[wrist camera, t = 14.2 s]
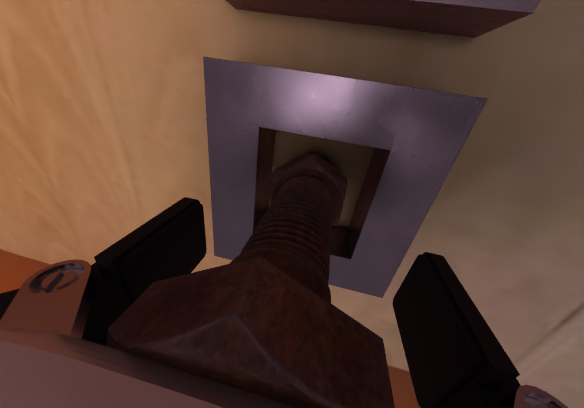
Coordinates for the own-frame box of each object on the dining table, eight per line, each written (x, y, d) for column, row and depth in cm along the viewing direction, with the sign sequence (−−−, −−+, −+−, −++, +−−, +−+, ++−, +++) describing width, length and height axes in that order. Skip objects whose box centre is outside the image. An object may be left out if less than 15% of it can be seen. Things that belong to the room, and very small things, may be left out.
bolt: (338, 208, 18) (339, 511, 5) (281, 198, 19) (146, 442, 5) (354, 139, 15) (453, 407, 2) (286, 130, 16) (40, 293, 3)
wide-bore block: (447, 97, 13) (487, 98, 10) (374, 262, 20) (382, 297, 16) (235, 65, 14) (203, 56, 11) (234, 229, 21) (214, 255, 18)
